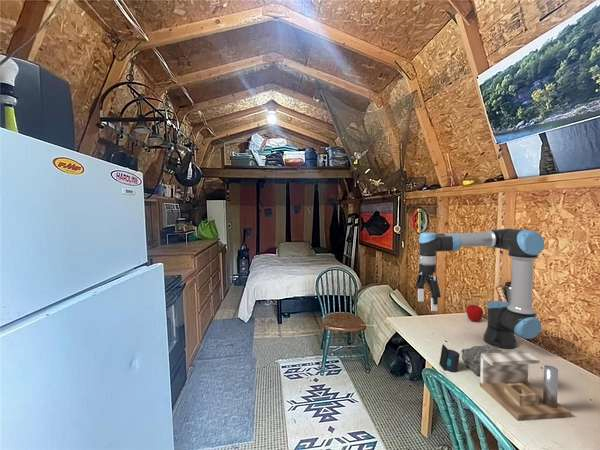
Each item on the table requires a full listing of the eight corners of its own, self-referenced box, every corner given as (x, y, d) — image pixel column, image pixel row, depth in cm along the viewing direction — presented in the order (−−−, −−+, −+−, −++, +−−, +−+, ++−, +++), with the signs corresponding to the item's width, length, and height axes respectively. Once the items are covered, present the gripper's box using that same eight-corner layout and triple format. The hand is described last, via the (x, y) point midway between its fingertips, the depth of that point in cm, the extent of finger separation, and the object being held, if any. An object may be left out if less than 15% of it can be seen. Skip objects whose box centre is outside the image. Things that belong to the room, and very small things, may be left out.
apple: (469, 323, 187) (469, 307, 186) (463, 317, 196) (463, 302, 195) (485, 324, 185) (486, 307, 184) (479, 318, 194) (479, 302, 194)
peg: (549, 400, 110) (551, 365, 109) (559, 407, 106) (561, 371, 105) (540, 400, 110) (541, 365, 109) (549, 408, 106) (550, 371, 105)
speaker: (439, 370, 135) (442, 348, 134) (439, 364, 140) (441, 343, 139) (458, 374, 132) (460, 353, 131) (456, 368, 137) (459, 348, 136)
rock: (518, 376, 123) (507, 355, 137) (500, 351, 124) (491, 332, 137) (476, 390, 131) (470, 368, 144) (459, 366, 131) (454, 346, 145)
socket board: (524, 383, 124) (525, 351, 123) (570, 417, 104) (571, 378, 103) (479, 385, 123) (480, 353, 122) (517, 420, 103) (518, 381, 102)
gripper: (409, 259, 153) (409, 298, 155) (433, 269, 129) (432, 315, 130) (422, 258, 154) (422, 297, 155) (449, 268, 129) (448, 314, 130)
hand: (427, 305), depth 142 cm, fingers open, 13 cm apart
